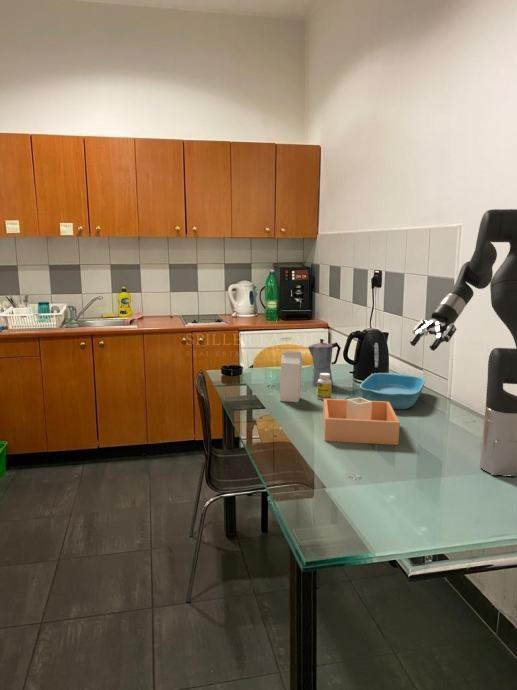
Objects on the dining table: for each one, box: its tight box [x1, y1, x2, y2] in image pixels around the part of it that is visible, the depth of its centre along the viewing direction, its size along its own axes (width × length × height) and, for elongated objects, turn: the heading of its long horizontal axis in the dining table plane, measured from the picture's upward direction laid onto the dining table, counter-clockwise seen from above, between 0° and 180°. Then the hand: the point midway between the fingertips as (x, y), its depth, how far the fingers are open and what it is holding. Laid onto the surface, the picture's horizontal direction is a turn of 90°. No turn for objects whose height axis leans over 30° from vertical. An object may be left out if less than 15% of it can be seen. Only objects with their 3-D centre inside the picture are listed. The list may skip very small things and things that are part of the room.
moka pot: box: [307, 338, 341, 387], centre depth 227 cm, size 10×15×20 cm, turn 115°
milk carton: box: [279, 350, 303, 403], centre depth 204 cm, size 7×7×19 cm
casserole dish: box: [359, 372, 426, 410], centre depth 209 cm, size 37×22×7 cm, turn 157°
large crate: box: [322, 398, 401, 446], centre depth 172 cm, size 22×22×7 cm
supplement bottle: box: [316, 373, 333, 401], centre depth 208 cm, size 5×5×10 cm
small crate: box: [346, 396, 372, 420], centre depth 171 cm, size 6×6×9 cm
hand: (421, 346), depth 175 cm, fingers open, 8 cm apart
